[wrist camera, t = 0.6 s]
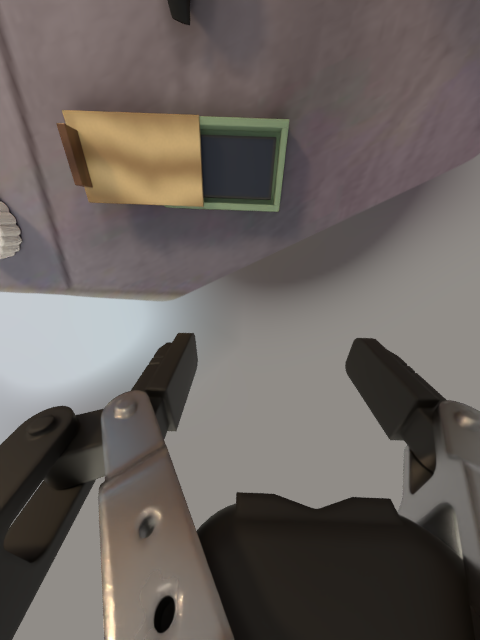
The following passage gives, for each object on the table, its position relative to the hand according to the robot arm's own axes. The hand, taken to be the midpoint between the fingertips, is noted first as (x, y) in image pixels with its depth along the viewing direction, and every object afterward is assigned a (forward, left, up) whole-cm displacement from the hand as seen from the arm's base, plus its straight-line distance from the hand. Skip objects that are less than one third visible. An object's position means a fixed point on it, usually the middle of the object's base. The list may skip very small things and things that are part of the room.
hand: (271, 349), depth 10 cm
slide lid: (-12, -16, -25) cm, 32 cm away
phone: (-12, -5, -26) cm, 29 cm away
